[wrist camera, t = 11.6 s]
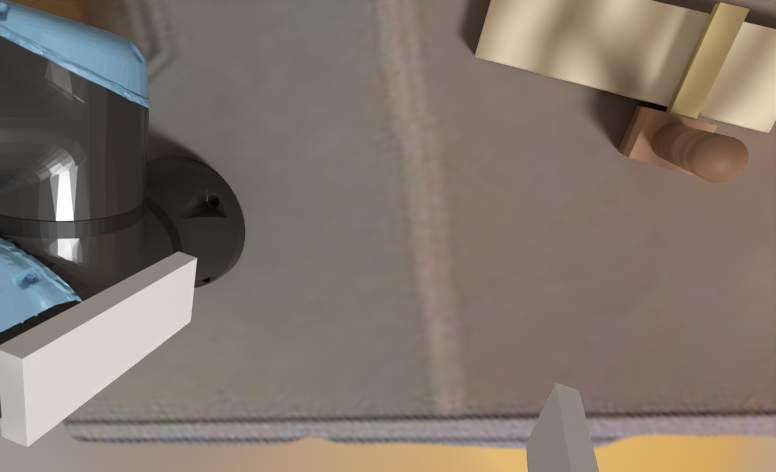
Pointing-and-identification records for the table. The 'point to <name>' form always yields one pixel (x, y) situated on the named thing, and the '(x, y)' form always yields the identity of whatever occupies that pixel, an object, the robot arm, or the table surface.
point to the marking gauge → (692, 112)
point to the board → (633, 52)
